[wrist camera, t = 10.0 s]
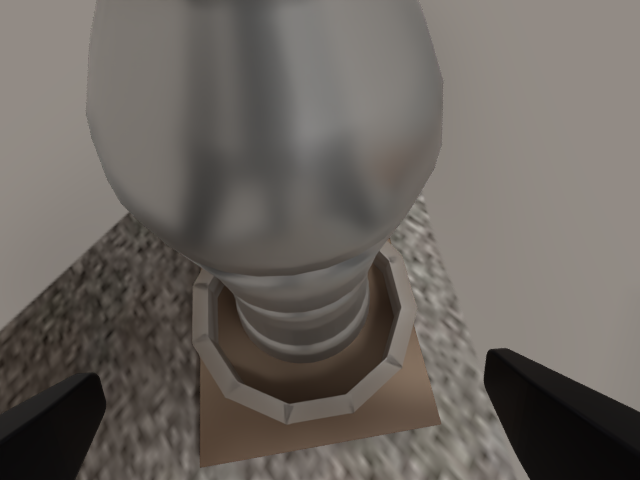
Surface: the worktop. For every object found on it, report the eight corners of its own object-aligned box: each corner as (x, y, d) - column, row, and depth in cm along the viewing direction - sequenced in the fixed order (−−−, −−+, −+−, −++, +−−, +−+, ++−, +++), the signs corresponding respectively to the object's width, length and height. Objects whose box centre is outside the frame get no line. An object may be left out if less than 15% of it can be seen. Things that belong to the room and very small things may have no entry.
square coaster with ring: (434, 423, 18) (455, 425, 16) (207, 464, 18) (185, 474, 15) (375, 205, 25) (382, 177, 22) (205, 227, 24) (190, 201, 21)
